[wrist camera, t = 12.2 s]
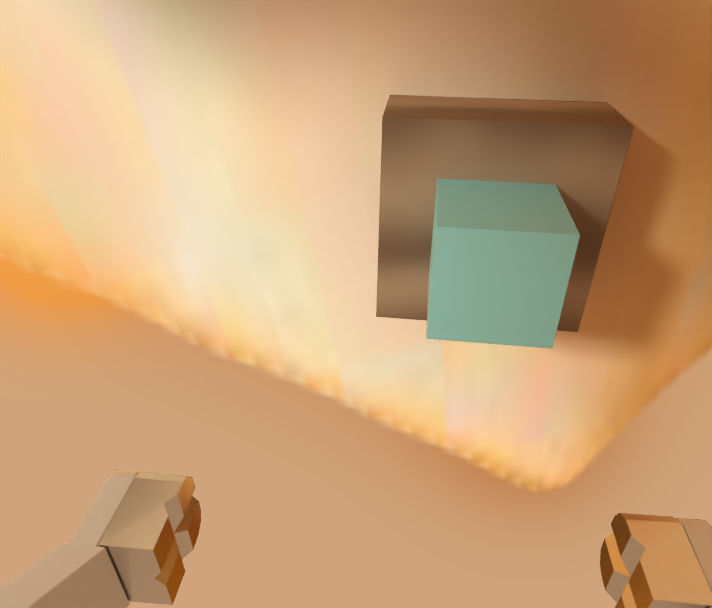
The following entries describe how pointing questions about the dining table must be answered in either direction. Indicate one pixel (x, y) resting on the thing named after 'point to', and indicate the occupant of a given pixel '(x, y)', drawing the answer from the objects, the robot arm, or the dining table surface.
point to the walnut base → (491, 179)
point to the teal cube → (499, 262)
